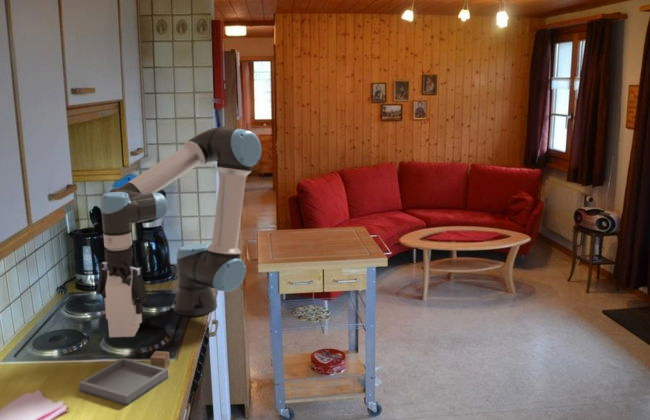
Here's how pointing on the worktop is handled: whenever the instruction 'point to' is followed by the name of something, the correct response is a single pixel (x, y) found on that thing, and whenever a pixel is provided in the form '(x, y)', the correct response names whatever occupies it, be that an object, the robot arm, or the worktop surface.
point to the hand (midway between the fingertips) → (123, 320)
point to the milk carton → (119, 307)
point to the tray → (123, 381)
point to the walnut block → (160, 359)
